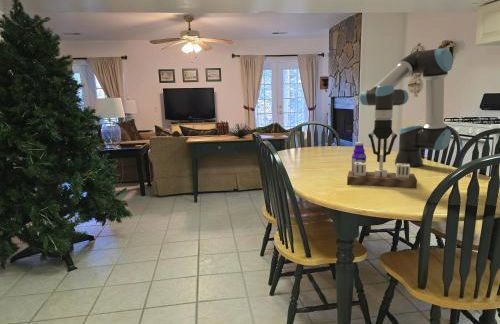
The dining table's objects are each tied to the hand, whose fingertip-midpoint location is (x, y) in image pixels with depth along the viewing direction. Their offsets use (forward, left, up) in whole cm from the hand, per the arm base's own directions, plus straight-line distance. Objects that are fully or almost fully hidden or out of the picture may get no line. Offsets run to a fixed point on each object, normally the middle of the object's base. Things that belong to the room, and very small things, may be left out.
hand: (380, 168), depth 157 cm
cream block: (0, 0, -7) cm, 7 cm away
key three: (-7, +7, -4) cm, 10 cm away
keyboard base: (0, 0, -7) cm, 7 cm away
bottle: (-4, -19, -7) cm, 21 cm away
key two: (+7, -7, -4) cm, 10 cm away
